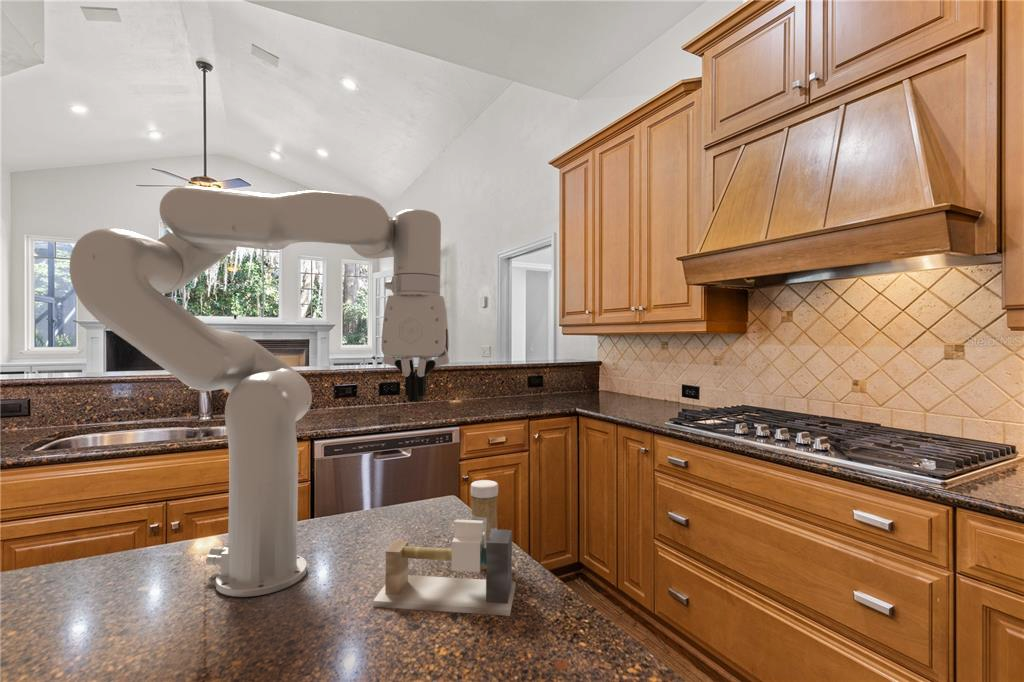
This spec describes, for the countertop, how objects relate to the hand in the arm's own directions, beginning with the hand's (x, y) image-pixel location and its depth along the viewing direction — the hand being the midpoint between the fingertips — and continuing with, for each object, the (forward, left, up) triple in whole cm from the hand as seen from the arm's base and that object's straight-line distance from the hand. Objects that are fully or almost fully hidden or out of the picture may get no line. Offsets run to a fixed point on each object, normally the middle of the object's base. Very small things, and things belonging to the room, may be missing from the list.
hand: (415, 400), depth 80 cm
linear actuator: (+8, -8, -27) cm, 29 cm away
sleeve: (+11, -8, -22) cm, 26 cm away
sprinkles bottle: (+11, +3, -27) cm, 30 cm away
